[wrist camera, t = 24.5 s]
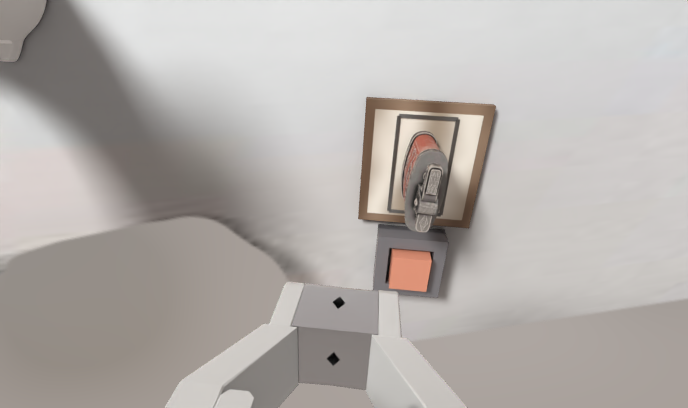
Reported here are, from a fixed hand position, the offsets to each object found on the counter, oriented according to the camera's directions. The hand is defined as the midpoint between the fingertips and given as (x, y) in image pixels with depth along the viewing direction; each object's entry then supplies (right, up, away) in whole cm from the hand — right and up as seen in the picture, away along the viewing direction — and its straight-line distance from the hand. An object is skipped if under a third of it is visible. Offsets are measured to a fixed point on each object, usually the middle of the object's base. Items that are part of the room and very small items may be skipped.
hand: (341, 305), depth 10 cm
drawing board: (+9, +7, +30) cm, 32 cm away
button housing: (+8, -4, +35) cm, 36 cm away
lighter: (+8, +7, +29) cm, 31 cm away
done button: (+8, -4, +34) cm, 35 cm away
